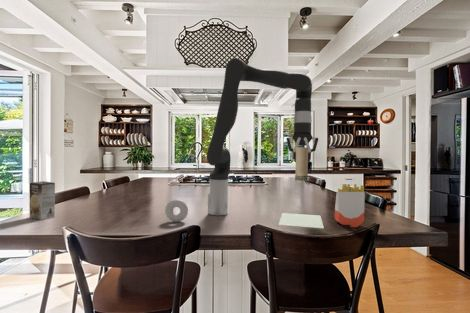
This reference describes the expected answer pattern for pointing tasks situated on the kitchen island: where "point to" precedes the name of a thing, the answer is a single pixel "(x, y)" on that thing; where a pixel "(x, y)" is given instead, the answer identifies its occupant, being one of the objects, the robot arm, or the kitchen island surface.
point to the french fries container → (350, 205)
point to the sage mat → (301, 220)
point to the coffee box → (42, 200)
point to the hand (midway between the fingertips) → (301, 160)
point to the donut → (179, 204)
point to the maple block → (301, 163)
